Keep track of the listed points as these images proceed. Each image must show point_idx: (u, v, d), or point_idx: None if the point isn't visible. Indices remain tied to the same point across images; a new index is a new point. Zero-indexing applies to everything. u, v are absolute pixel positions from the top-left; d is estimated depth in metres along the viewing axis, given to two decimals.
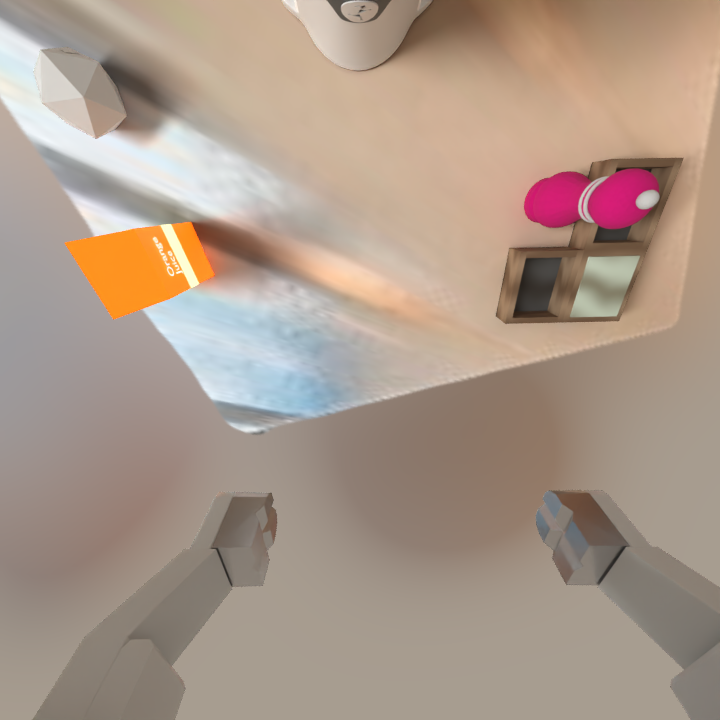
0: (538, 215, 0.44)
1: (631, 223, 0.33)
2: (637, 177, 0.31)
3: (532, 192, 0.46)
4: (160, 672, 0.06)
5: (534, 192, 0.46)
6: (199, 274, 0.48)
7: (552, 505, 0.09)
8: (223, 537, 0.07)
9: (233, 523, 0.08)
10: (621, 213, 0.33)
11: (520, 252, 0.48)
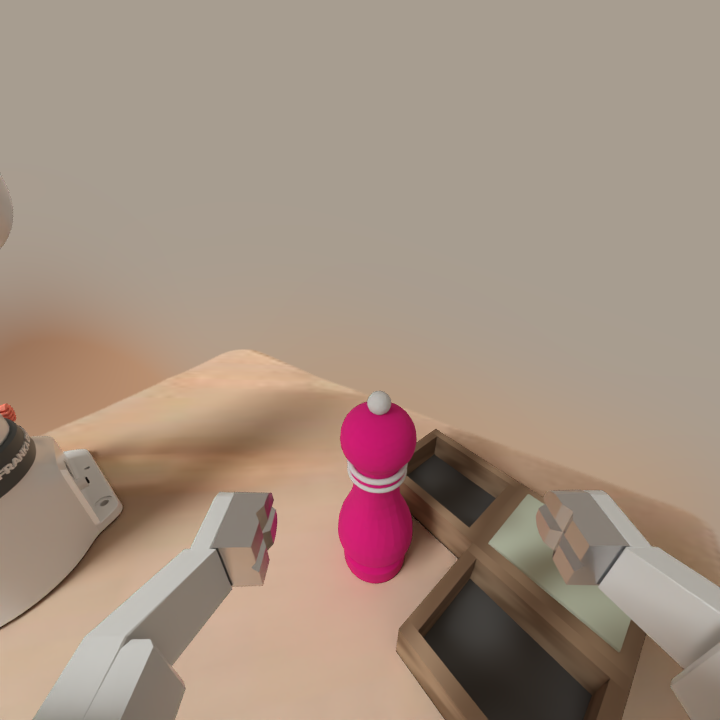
0: (364, 559, 0.26)
1: (406, 432, 0.22)
2: (354, 408, 0.24)
3: (345, 551, 0.30)
4: (160, 672, 0.06)
5: None
6: None
7: (552, 505, 0.09)
8: (223, 537, 0.07)
9: (233, 523, 0.08)
10: (376, 431, 0.21)
11: (400, 631, 0.23)
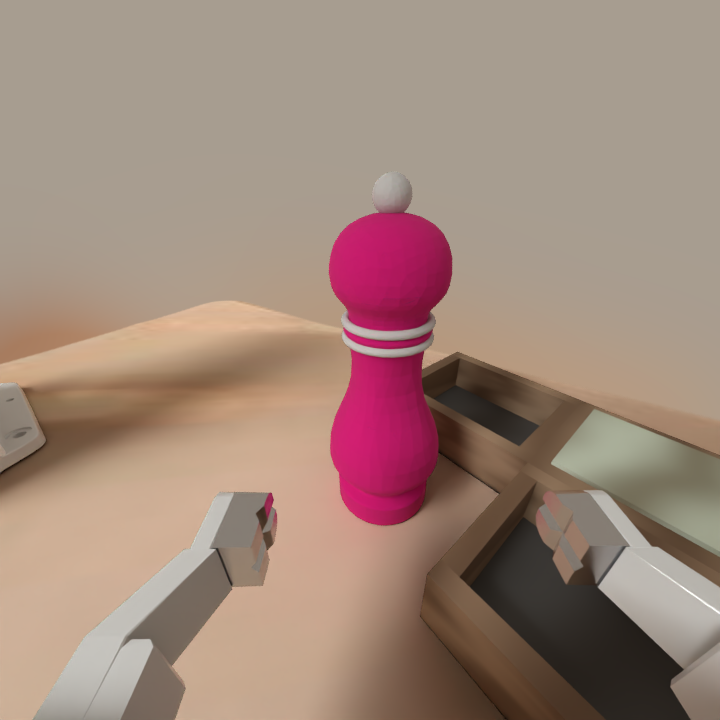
0: (369, 479, 0.17)
1: (438, 237, 0.13)
2: None
3: (341, 484, 0.21)
4: (160, 672, 0.06)
5: (341, 480, 0.21)
6: None
7: (552, 505, 0.09)
8: (223, 537, 0.07)
9: (233, 523, 0.08)
10: (388, 226, 0.12)
11: (430, 578, 0.14)
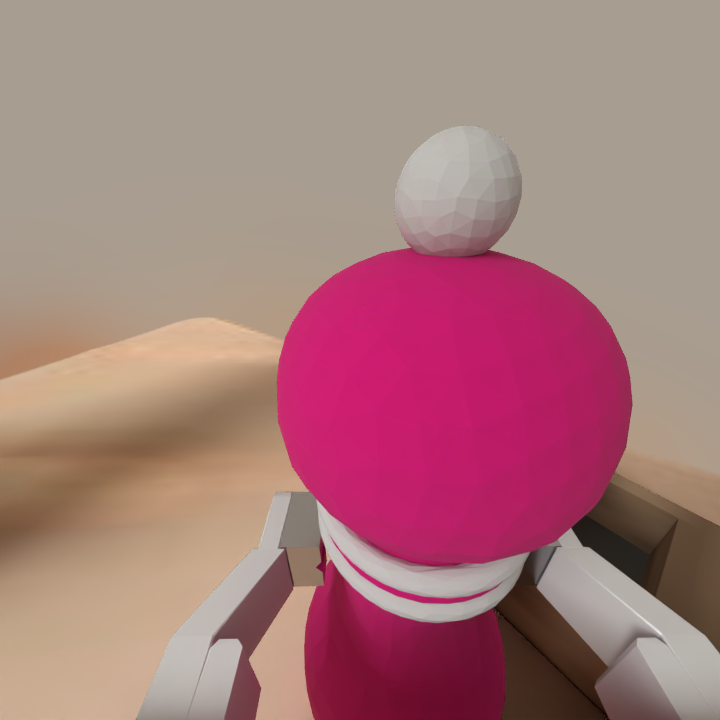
0: None
1: (612, 338, 0.04)
2: None
3: None
4: (246, 672, 0.06)
5: None
6: None
7: None
8: (289, 537, 0.07)
9: (297, 523, 0.08)
10: (462, 315, 0.03)
11: None
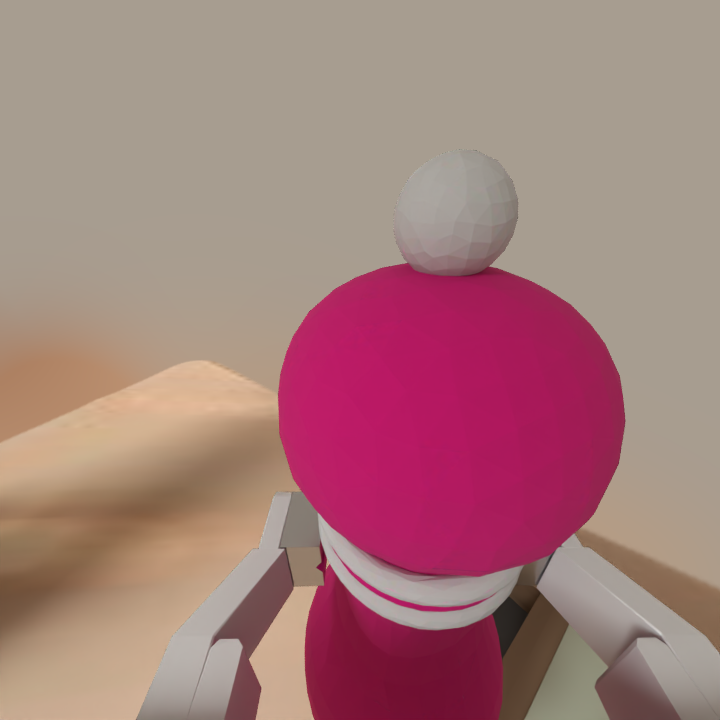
0: None
1: (606, 357, 0.04)
2: None
3: None
4: (246, 672, 0.06)
5: None
6: None
7: None
8: (290, 537, 0.07)
9: (297, 523, 0.08)
10: (459, 338, 0.04)
11: None
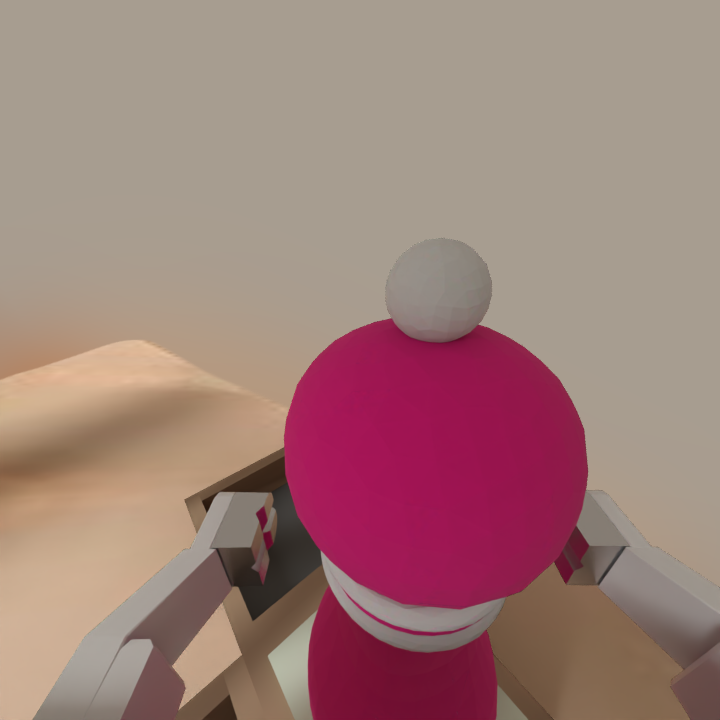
0: None
1: (569, 416, 0.05)
2: (337, 340, 0.07)
3: None
4: (160, 672, 0.06)
5: None
6: None
7: None
8: (223, 537, 0.07)
9: (233, 523, 0.08)
10: (438, 409, 0.04)
11: None
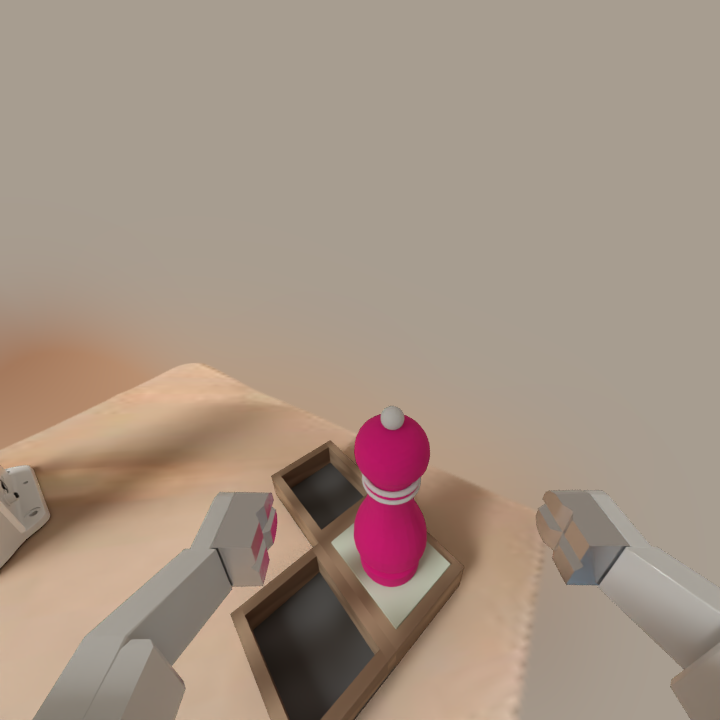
0: (381, 565, 0.27)
1: (420, 446, 0.22)
2: (367, 422, 0.24)
3: (361, 556, 0.31)
4: (160, 672, 0.06)
5: None
6: None
7: (552, 505, 0.09)
8: (223, 537, 0.07)
9: (233, 523, 0.08)
10: (390, 447, 0.22)
11: (231, 616, 0.29)
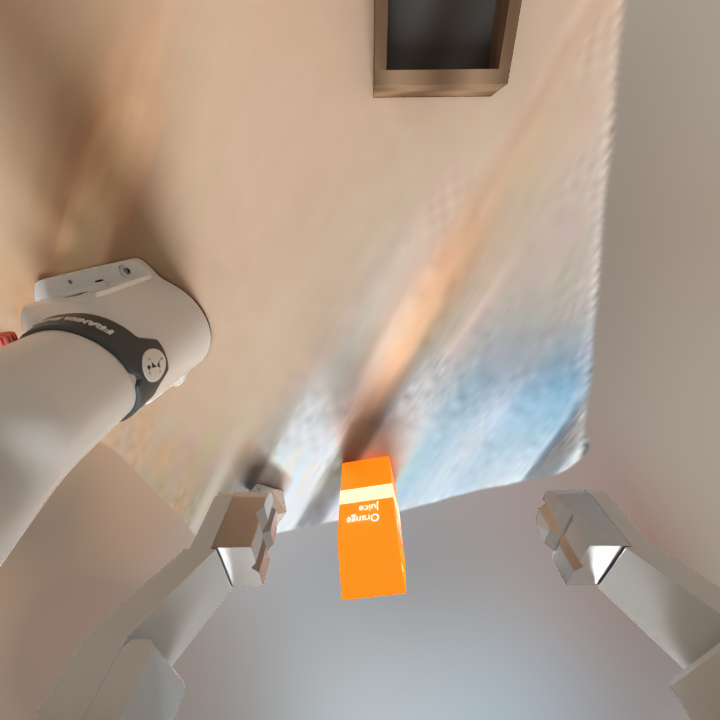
0: None
1: None
2: None
3: None
4: (160, 672, 0.06)
5: None
6: (384, 477, 0.51)
7: (552, 505, 0.09)
8: (223, 537, 0.07)
9: (233, 523, 0.08)
10: None
11: (376, 84, 0.28)
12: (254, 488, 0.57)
